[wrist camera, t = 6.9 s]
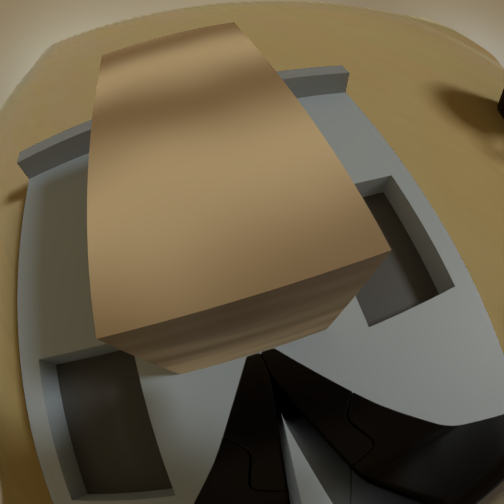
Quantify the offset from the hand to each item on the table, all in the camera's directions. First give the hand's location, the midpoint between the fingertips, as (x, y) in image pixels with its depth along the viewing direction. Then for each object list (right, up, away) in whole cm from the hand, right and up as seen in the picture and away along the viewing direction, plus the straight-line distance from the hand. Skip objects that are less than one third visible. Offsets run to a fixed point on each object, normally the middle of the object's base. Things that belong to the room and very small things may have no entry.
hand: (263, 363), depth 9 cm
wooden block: (-2, +5, +8) cm, 9 cm away
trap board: (+1, -4, +6) cm, 7 cm away
